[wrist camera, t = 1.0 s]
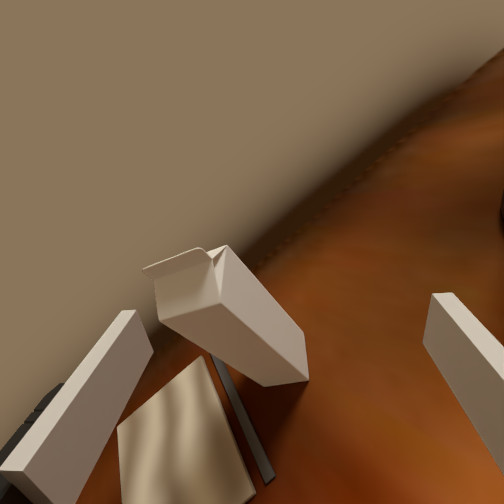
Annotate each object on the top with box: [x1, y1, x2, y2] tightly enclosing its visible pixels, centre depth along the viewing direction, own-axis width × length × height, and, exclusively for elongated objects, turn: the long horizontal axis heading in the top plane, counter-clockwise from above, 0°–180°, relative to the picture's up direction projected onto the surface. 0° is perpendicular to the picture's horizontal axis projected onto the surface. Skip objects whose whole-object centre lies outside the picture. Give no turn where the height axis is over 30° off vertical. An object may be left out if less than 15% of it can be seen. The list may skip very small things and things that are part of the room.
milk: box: [142, 245, 309, 387], centre depth 28 cm, size 6×6×22 cm
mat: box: [117, 353, 276, 504], centre depth 34 cm, size 19×18×1 cm
